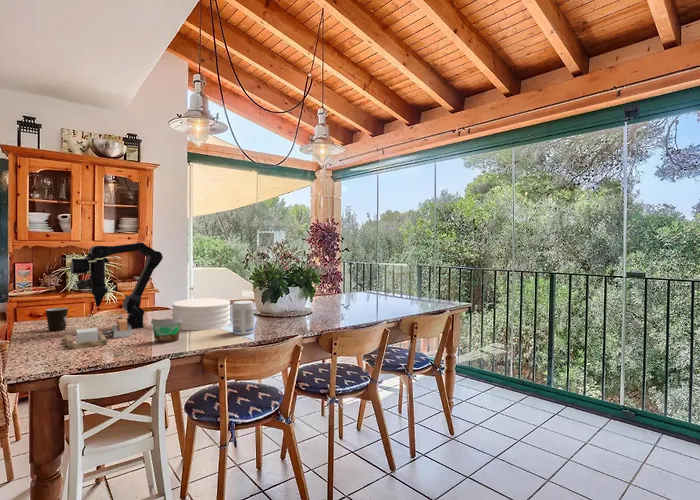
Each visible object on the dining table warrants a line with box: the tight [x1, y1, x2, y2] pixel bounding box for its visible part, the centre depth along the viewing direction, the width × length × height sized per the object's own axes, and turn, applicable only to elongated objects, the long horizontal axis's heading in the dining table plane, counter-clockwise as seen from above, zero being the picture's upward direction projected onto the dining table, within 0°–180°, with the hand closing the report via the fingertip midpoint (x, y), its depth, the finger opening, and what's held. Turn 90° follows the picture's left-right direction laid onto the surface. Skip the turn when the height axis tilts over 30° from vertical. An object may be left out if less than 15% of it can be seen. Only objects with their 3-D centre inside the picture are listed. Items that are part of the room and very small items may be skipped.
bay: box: [65, 330, 108, 350], centre depth 175 cm, size 13×20×2 cm, turn 37°
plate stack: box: [171, 297, 231, 331], centre depth 213 cm, size 28×28×12 cm
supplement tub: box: [232, 300, 255, 336], centre depth 195 cm, size 10×10×15 cm
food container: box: [150, 317, 182, 344], centre depth 177 cm, size 12×6×10 cm, turn 117°
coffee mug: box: [45, 307, 69, 333], centre depth 197 cm, size 12×9×10 cm
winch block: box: [102, 323, 133, 339], centre depth 186 cm, size 11×7×4 cm, turn 127°
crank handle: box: [116, 315, 127, 331], centre depth 187 cm, size 3×9×5 cm, turn 37°
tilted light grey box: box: [75, 327, 99, 343], centre depth 170 cm, size 7×7×6 cm
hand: (97, 306), depth 192 cm, fingers closed
